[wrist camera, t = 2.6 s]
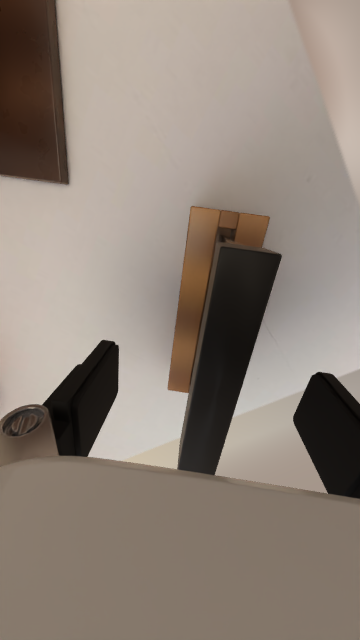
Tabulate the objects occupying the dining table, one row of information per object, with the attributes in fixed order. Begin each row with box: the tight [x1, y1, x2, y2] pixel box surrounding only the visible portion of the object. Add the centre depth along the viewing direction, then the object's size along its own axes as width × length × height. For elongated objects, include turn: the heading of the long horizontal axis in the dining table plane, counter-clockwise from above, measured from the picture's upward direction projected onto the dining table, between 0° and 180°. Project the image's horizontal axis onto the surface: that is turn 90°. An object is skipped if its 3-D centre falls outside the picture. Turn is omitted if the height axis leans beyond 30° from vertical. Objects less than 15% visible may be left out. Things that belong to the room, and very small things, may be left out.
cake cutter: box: [177, 235, 282, 475], centre depth 14 cm, size 12×2×10 cm, turn 173°
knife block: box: [168, 206, 270, 393], centre depth 18 cm, size 15×5×3 cm, turn 173°
